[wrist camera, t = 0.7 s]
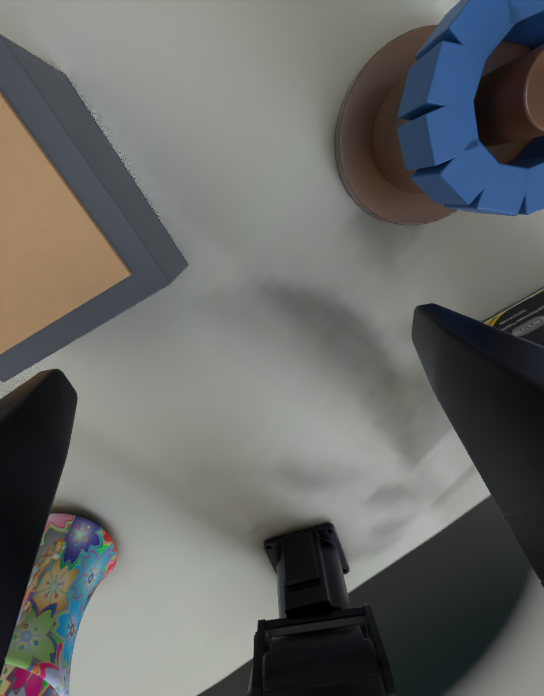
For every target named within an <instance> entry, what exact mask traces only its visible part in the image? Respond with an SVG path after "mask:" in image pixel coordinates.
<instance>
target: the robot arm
mask: <svg viewBox="0 0 544 696" xmlns="http://www.w3.org/2000/svg"><path fill="white" fill-rule="evenodd" d="M412 340H413V343H414V346H415V348H416V351H417V353H418V355H419V358H420V360H421V363H422V365H423V368H424V370H425V373H426V375H427V377H428V380H429V382H430V385H431V387H432V389H433V391H434V393H435V395H436V397H437V399H438V401H439V403H440V404H441V406H442V408H443V410H444V412H445V413H446V415H447V417H448V419H449V420H450V422H451V424H452V426H453V427H454V429H455V431H456V433H457V435H458V436H459V438H460V440H461V442H462V443H463V445H464V447H465V449H466V450H467V452H468V454H469V456H470V458H471V459H472V461H473V463H474V465H475V466H476V468H477V470H478V472H479V473H480V475H481V477H482V479H483V481H484V482H485V484H486V486H487V488H488V489H489V491H490V493H491V495H492V496H493V498H494V500H495V502H496V503H497V505H498V507H499V509H500V510H501V512H502V514H503V516H504V518H505V519H506V521H507V523H508V525H509V527H510V528H511V530H512V532H513V534H514V535H515V537H516V539H517V541H518V542H519V544H520V546H521V548H522V550H523V551H524V553H525V555H526V556H527V558H528V560H529V562H530V564H531V565H532V567H533V569H534V571H535V572H536V574H537V576H538V578H539V579H540V580H542V581H541V584H542V586H543V587H544V346H541V345H538V344H536V343H533V342H531V341H528V340H526V339H523V338H521V337H518V336H516V335H513V334H511V333H508V332H505V331H503V330H500V329H498V328H495V327H493V326H490V325H488V324H485V323H483V322H480V321H478V320H475V319H472V318H470V317H467V316H465V315H462V314H460V313H457V312H455V311H452V310H450V309H447V308H444V307H442V306H439V305H437V304H434V303H430V304H425V305H419V306H417V307H416V308H415V310H414V317H413V327H412ZM77 399H78V398H77V393H76V391H75V389H74V388H73V386H72V385H71V383H70V382H69V380H68V379H67V378H66V376H65V375H64V373H63V372H62V371H61V370H59V369H51V370H46V371H41V372H39V373H38V374H36V375H35V376H33V377H32V378H31V379H29V380H28V381H26V382H25V383H23V384H22V385H20V386H19V387H18V388H16V389H15V390H13V391H12V392H10V393H9V394H8V395H6V396H5V397H3V398H2V399H0V677H1V674H2V671H3V667H4V664H5V658H6V656H7V653H8V650H9V647H10V643H11V640H12V637H13V633H14V630H15V627H16V623H17V620H18V617H19V613H20V610H21V607H22V604H23V600H24V597H25V594H26V590H27V587H28V584H29V580H30V577H31V574H32V570H33V567H34V564H35V560H36V557H37V554H38V550H39V547H40V544H41V540H42V537H43V534H44V530H45V527H46V524H47V521H48V517H49V514H50V511H51V507H52V504H53V501H54V497H55V494H56V491H57V487H58V484H59V481H60V477H61V474H62V471H63V467H64V464H65V461H66V457H67V453H68V449H69V444H70V439H71V433H72V428H73V422H74V417H75V411H76V406H77ZM263 545H264V550H265V552H266V554H267V556H268V558H269V560H270V562H271V564H272V566H273V568H274V570H275V572H276V574H277V585H278V604H279V619H272V620H265V619H263V620H258V629H257V632H256V633H255V635H254V658H253V667H252V672H251V678H250V683H249V688H248V694H247V696H397V695H396V691H395V687H394V682H393V678H392V674H391V670H390V666H389V663H388V660H387V657H386V653H385V650H384V646H383V644H382V640H381V637H380V634H379V631H378V628H377V625H376V622H375V619H374V615H373V613H372V609H371V606H370V604H366V605H363V606H362V607H355V608H351V607H350V603H349V598H348V593H347V589H346V584H345V580H344V576H343V575H344V574H347V573H348V572H349V566H348V563H347V560H346V557H345V555H344V552H343V549H342V547H341V544H340V541H339V538H338V536H337V533H336V530H335V528H334V525H333V524H331V523H327V524H323V525H320V526H316V527H312V528H308V529H305V530H301V531H297V532H293V533H290V534H286V535H282V536H278V537H275V538H271V539H267V540H265V541H264V543H263Z"/></svg>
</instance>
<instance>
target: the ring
mask: <svg viewBox="0 0 544 696" xmlns="http://www.w3.org/2000/svg"><path fill="white" fill-rule="evenodd" d="M502 40H505V41H509V42H514V43H519V44H524V45H529V46H530V47H531V49H532V50H534V49H536V48H538V47H540V46H541V45H543V44H544V0H461V1H460V2H459V3H458V4H456V5H455V6H454V7H453V8H452V9H451V10H450V11H449V12H448V13H447V14H446V15H445V17H444V18H443V19H442V21H441V22H440V23H439V25H438V26H437V27H436V29H435V30H434V31H433V32H432V34H431V35H430V36H429V38H428V39H427V40H426V42H425V43H424V44H423V46H422V47H421V48H420V50H419V51H418V52H417V54H416V55H415V59H416V60H417V62H416V63H415V64H413V65H412V66H411V67H410V68H409V71H408V75H407V79H406V83H405V87H404V92H403V96H402V100H401V104H400V108H399V112H398V118H400V119H405V120H411V121H410V122H408V123H406V124H403V125H401V126H399V127H398V128H397V131H398V136H399V140H400V145H401V149H402V154H403V158H404V163H405V167H406V170H413V169H417V170H416V171H415V173H414V174H413V175H412V176H411V179H412V180H413V181H414V182H415V183H416V184H417V185H418V186H419V187H420V188H421V189H422V190H423V191H424V192H425V193H426V194H427V195H428V196H429V197H430V198H431V199H432V200H433V201H434V202H435V203H438V204H444V205H443V206H444V207H445V208H450V209H456V210H462V211H469V212H475V213H485V214H497V215H508V216H515V215H517V214H523V215H528V214H531V213H533V212H536V211H538V210H541V209H543V208H544V136H540V137H535V138H534V139H533V141H532V142H531V143H530V144H529V145H528V146H527V147H526V148H525V149H524V150H523V151H522V152H521V154H520V155H519V156H518V157H517V158H516V159H515V160H514V161H512V162H509V163H507V164H503V163H498V161H497V160H496V159H495V158H494V157H493V156H492V155H491V153H490V152H489V151H488V150H487V149H486V148H485V147H484V146H483V144H482V143H481V142H480V141H479V138H478V131H477V124H476V117H475V110H474V102H473V101H474V98H475V95H476V91H477V88H478V85H479V82H480V78H481V75H482V72H483V69H484V65H485V62H486V60H487V58H488V57H489V56H490V55H491V53H492V52H493V51H494V50H495V49H496V47H497V46H498V45H499V44H500V42H501V41H502Z"/></svg>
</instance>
